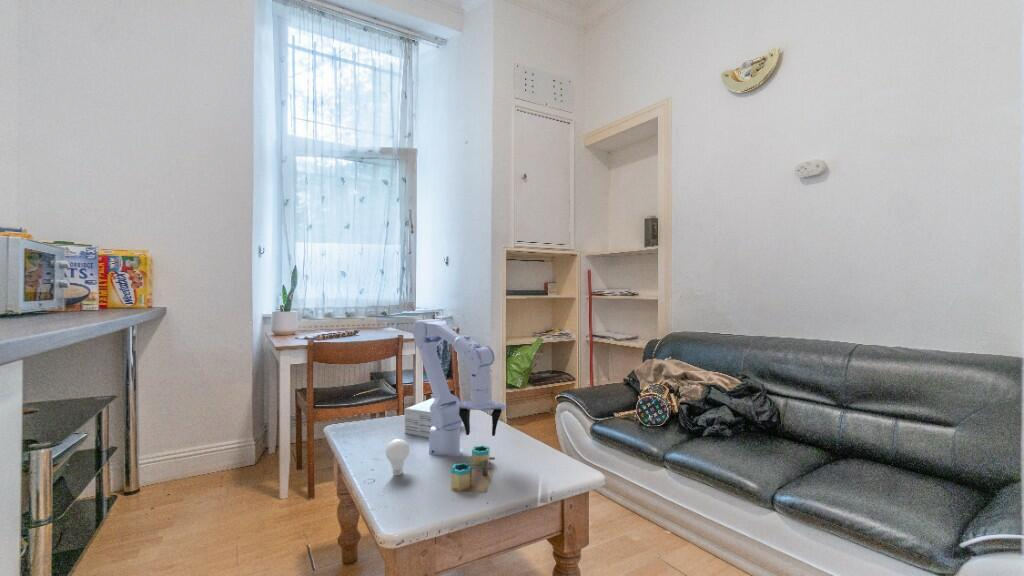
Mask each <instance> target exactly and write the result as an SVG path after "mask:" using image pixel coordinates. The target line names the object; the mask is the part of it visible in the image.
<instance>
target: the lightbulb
mask: <svg viewBox="0 0 1024 576" xmlns="http://www.w3.org/2000/svg"><path fill="white" fill-rule="evenodd" d="M409 453H410V446H409V444H408V442H407V441H406V440H405V439H403V438H395V439H392V440H391V441H389V442H388V443H387V445H386V447H385V456H386V458H387V460H388V461H389V463H390V465H391V468H392V477H395V476H400V475H402V474H403V472H404V471H403V470H404V469H403V468H404V464H405V461H406V459H407V458H408V456H409Z"/></svg>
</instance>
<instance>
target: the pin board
mask: <svg viewBox="0 0 1024 576" xmlns="http://www.w3.org/2000/svg"><path fill="white" fill-rule="evenodd" d="M488 467H489V465H488V460H487V459H484V460H483V469H472V485H471V487H470V489H468V490H463V491H457V490H454V489H452V488H451V492H462V493H483V494H484V493H487V492H488V489H489V487H490V486H489V485H490V484H491V480H492V478H493V474H494V470H491V469H488Z"/></svg>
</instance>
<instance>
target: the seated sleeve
mask: <svg viewBox="0 0 1024 576" xmlns="http://www.w3.org/2000/svg"><path fill="white" fill-rule="evenodd" d="M472 466H473V465H472V464H469V463H465V462H461V463H455V464H452V466H451V468H450V471H451V472H450V482H451V484H450V485H451V487H450V488H451V490H452V489H454V490H457V491H456V492H459V491H463V490H468V489H470V487H471V485H472V470H473V469H472Z"/></svg>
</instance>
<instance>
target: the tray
mask: <svg viewBox="0 0 1024 576" xmlns="http://www.w3.org/2000/svg"><path fill="white" fill-rule="evenodd" d="M470 457H471V459H472V456H470ZM494 459H495V456H490V460H494ZM491 469H492V467H491V466H488V470H491ZM472 470H483V466H475V465H472Z"/></svg>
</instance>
